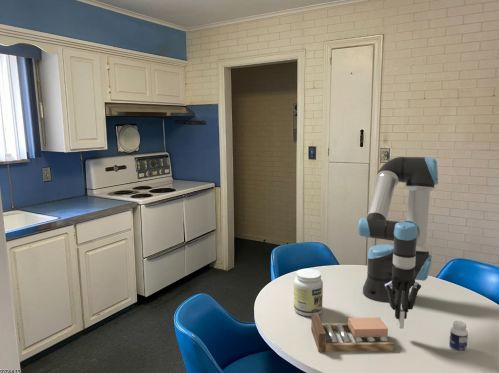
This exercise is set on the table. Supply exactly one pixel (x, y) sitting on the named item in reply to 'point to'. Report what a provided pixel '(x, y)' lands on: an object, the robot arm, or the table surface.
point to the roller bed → (345, 337)
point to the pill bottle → (458, 337)
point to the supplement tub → (308, 292)
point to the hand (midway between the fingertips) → (400, 326)
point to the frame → (322, 346)
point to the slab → (367, 327)
